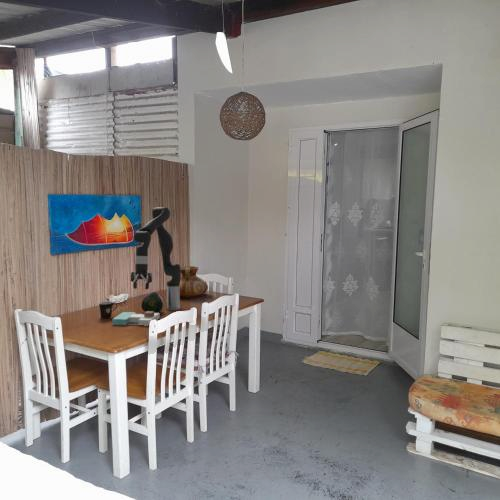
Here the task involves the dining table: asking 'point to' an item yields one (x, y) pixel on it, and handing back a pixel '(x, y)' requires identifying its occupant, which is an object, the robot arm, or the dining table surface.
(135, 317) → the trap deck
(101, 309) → the coffee mug
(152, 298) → the squash
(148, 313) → the walnut block
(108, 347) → the dining table surface
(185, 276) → the jug
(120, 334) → the dining table surface
